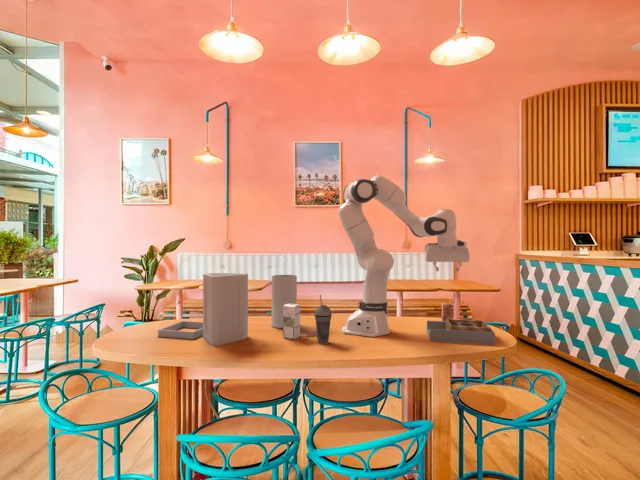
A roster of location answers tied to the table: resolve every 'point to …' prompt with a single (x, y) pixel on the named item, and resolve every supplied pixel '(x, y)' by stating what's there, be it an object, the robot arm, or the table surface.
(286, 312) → the syrup box
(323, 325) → the beverage cup
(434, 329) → the tray
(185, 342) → the table surface
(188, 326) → the gray square frame
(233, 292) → the paper bag
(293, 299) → the cylinder vase
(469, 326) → the crate
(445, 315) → the reddish brown block
